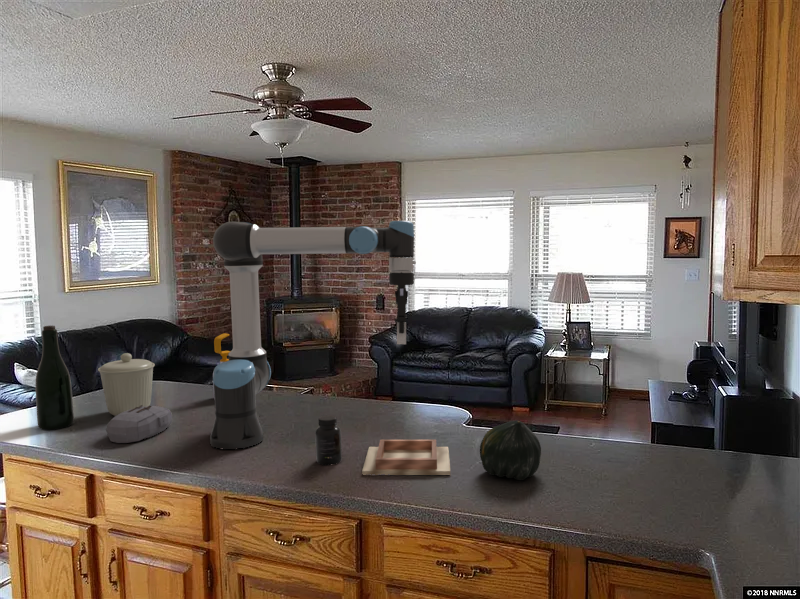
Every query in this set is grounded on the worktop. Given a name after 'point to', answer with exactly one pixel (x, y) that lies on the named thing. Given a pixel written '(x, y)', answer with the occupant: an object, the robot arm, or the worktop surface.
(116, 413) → the canister
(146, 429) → the soft grey pack
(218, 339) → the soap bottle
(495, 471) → the squash
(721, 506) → the worktop surface
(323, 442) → the supplement bottle
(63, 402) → the wine bottle
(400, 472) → the pocket board
